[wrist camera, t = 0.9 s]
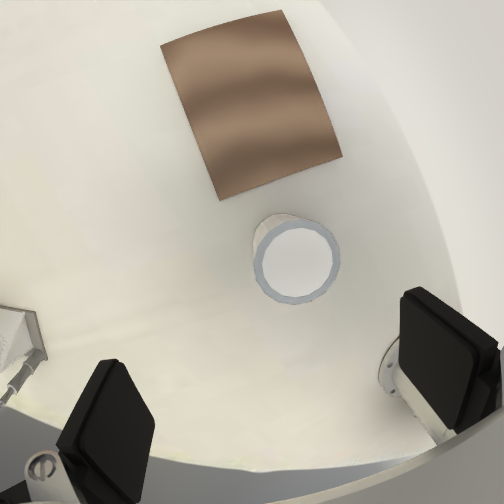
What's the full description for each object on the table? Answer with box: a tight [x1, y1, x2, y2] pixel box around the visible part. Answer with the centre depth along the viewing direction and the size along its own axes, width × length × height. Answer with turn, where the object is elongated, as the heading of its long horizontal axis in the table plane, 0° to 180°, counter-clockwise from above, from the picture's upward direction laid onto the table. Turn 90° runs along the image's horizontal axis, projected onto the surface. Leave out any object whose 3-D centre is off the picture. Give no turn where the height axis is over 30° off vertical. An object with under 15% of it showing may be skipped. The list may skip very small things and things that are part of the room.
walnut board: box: [160, 10, 343, 201], centre depth 25 cm, size 16×12×2 cm
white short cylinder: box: [253, 213, 340, 305], centre depth 26 cm, size 7×7×7 cm
